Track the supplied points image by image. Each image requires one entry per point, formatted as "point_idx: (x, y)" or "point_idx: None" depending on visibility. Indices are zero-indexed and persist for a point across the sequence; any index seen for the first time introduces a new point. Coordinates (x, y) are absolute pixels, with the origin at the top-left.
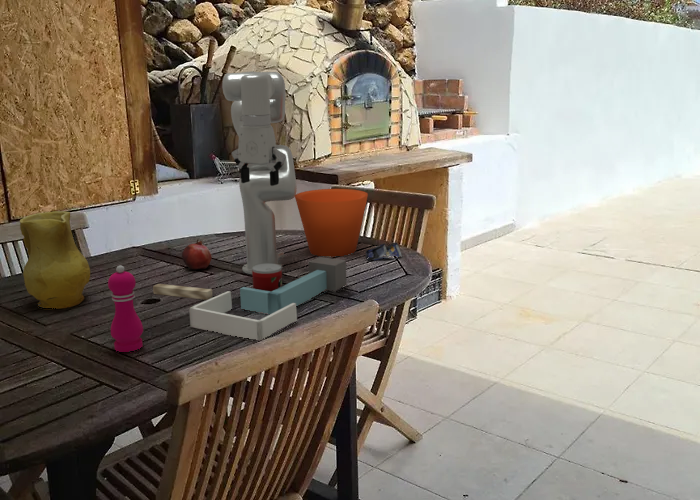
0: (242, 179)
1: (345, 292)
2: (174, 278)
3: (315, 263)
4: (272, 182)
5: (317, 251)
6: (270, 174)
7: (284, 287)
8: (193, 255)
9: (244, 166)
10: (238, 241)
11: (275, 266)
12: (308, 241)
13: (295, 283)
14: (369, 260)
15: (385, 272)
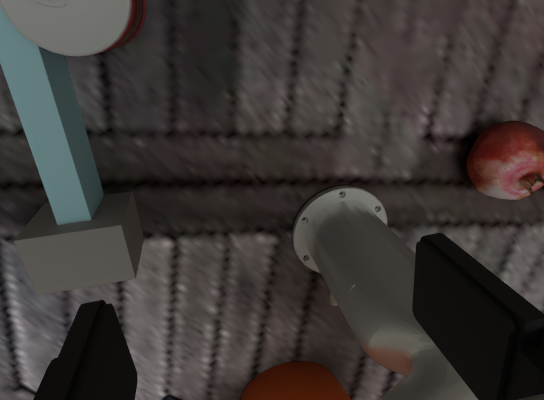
0: (443, 249)
1: (24, 217)
2: (496, 55)
3: (94, 228)
4: (76, 329)
5: (295, 368)
6: (57, 396)
7: None
8: (510, 136)
9: (537, 387)
10: None
11: (60, 37)
12: (328, 383)
13: (21, 69)
14: (165, 398)
15: None
